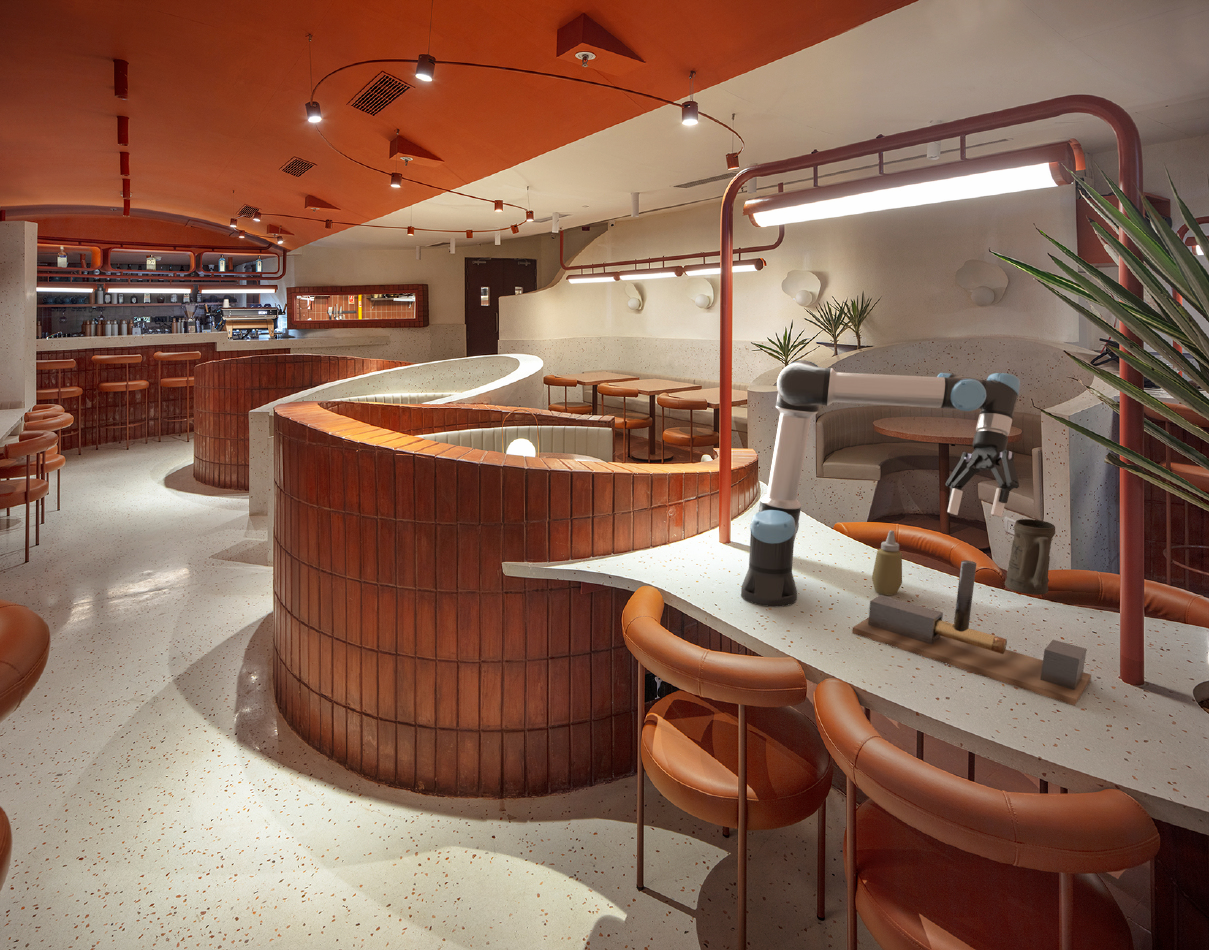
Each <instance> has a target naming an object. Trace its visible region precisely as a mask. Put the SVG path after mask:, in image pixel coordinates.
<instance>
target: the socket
mask: <svg viewBox="0 0 1209 950" xmlns="http://www.w3.org/2000/svg"><path fill="white" fill-rule="evenodd" d="M1087 649H1088V648H1085V647H1082V646H1078V645H1074V644H1070V643H1067V642H1064V641H1061V640H1060V641H1059V640H1056V639H1051V641H1050V642H1049V643H1048V644H1047V645H1046V647H1045V648H1044V651H1043V652H1044V653H1043V658H1042V660H1043V664H1042V671H1041V678H1040V680H1043V681H1046V682H1049V683H1053V684H1056V685H1059V686H1062V687H1065V688H1069V689H1072V690H1075V689H1076V687H1077V686H1078V684H1079V683H1080V681H1081V679H1082V675H1083V672H1084V668H1085V662H1086V656H1087Z"/></svg>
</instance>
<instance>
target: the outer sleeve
mask: <svg viewBox="0 0 1209 950" xmlns="http://www.w3.org/2000/svg"><path fill="white" fill-rule="evenodd" d="M943 616H944V612H943V611H940V610H937V609H933V608H928V607H925V606H921V605H918V604H914V603H911V602H907V601H904V600H900V599H896V598H893V597H889V596H885V595H883V594H879V595H878V596H876V597H874V598H873V599H871V600H870V601H869V612H868V617H869V621H868V625H870V626H873V627H876V628H880V629H883V630H886V631H889V632H892V633H896V634H899V635H902V636H905V637H908V638H912V639H915V640H918V641H921V642H925V643H928V644H933V643H934V642H935V641H936V640H937V639H939V638H940V635H937V634H934V626H935V621H936V620H941V621H943Z"/></svg>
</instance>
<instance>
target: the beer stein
mask: <svg viewBox="0 0 1209 950" xmlns="http://www.w3.org/2000/svg"><path fill="white" fill-rule="evenodd" d="M1013 531H1014V536H1013V540H1012V542H1011V543H1012V545H1011V553H1010V558H1009V560H1008V568H1007V572H1006V579H1005V581H1004V586H1005V587H1006V588H1008V589H1009V590H1012V591H1014V592H1017V593H1019V594H1020V593H1021V594H1026V595H1033V596H1038V595H1039V596H1040V595H1045V594H1048V593H1049V586H1048V585H1049V582H1050V580H1049V569H1050V561H1051V559H1050V558H1051V556H1050V554H1051V553H1050V552H1051V548H1052V547H1051V545H1052V541H1053V537H1054V536H1055V535H1056V526H1055V524H1053V523H1050V522H1049V521H1045V520H1040V519H1031V518H1022V519H1021V518H1020V519H1017V520H1016V521H1015V523H1014V526H1013Z"/></svg>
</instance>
